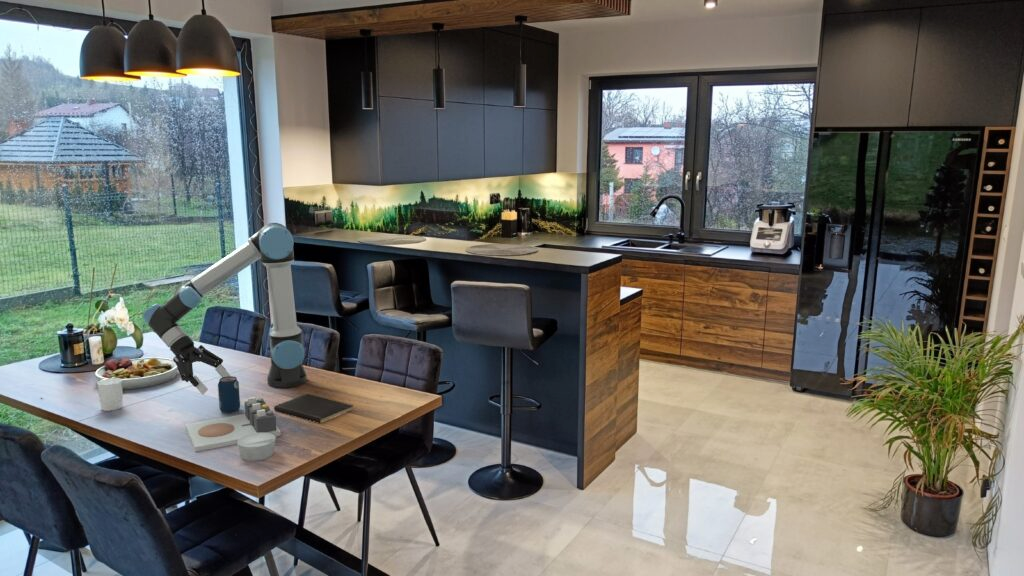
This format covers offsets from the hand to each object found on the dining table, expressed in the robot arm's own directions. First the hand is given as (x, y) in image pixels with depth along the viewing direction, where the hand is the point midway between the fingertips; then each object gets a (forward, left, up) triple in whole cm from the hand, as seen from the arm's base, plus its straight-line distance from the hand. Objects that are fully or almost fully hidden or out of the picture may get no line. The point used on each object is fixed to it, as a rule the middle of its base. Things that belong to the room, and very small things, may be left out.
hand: (217, 385), depth 257 cm
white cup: (+33, -22, -9) cm, 40 cm away
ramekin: (-3, +46, -10) cm, 47 cm away
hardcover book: (-29, +16, -10) cm, 35 cm away
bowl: (+22, -54, -10) cm, 59 cm away
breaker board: (0, +23, -9) cm, 25 cm away
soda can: (-3, +2, -9) cm, 10 cm away
